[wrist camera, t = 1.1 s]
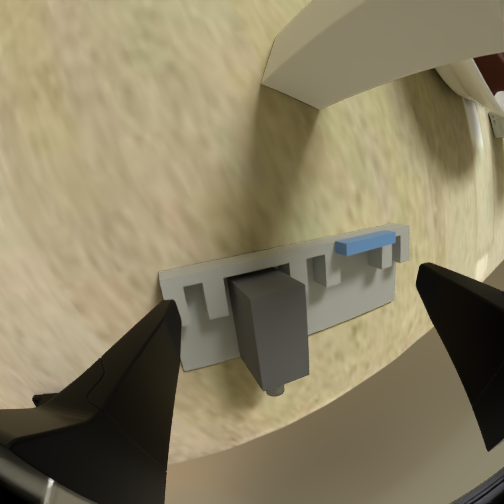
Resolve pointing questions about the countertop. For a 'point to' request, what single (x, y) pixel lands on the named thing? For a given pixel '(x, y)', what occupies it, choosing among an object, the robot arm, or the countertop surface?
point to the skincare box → (497, 125)
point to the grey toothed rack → (298, 267)
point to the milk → (377, 44)
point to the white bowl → (478, 80)
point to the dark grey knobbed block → (271, 326)
